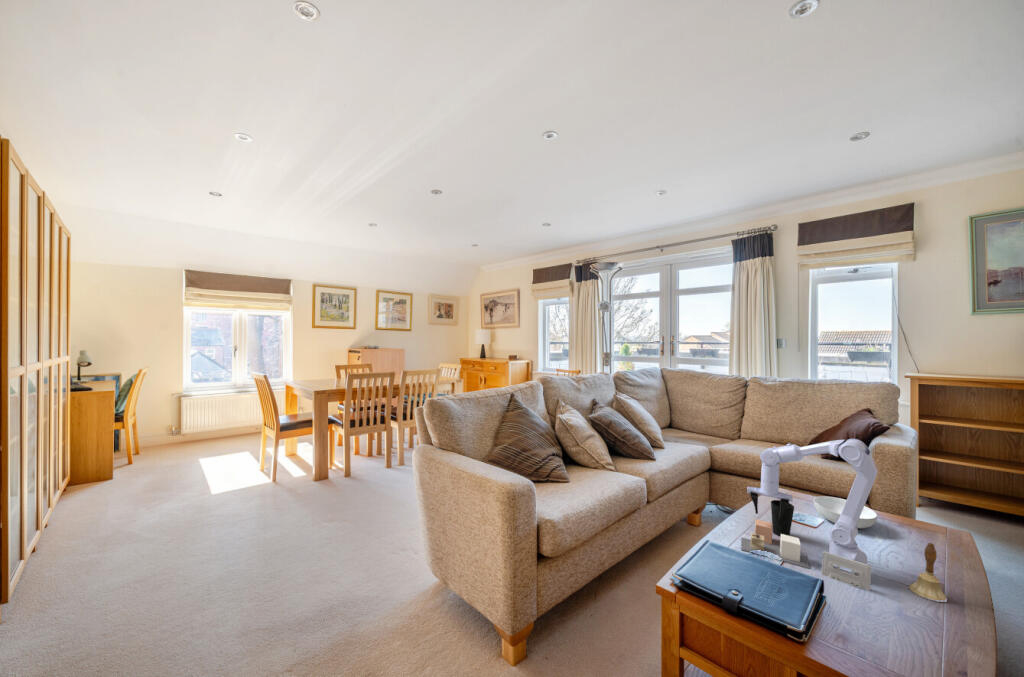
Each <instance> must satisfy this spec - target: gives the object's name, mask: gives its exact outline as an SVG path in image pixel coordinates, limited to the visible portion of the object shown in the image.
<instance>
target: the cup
mask: <svg viewBox="0 0 1024 677" xmlns="http://www.w3.org/2000/svg"><path fill="white" fill-rule="evenodd" d="M770 508H771V509H770V510H771V523H772V528H773V530H772V534H773V535H776V536H778V537H779V538H780V537H781V534H784V535H788V536H791V534H790V533H791V530H792V525H793V517H794V513H795V506H794V505H793V504H792V503H790V502H789V505H788V507H787V508H786V509H785V511H784V513H783V516H782V519H779V511H780V499H773V500H771V501H770Z"/></svg>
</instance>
